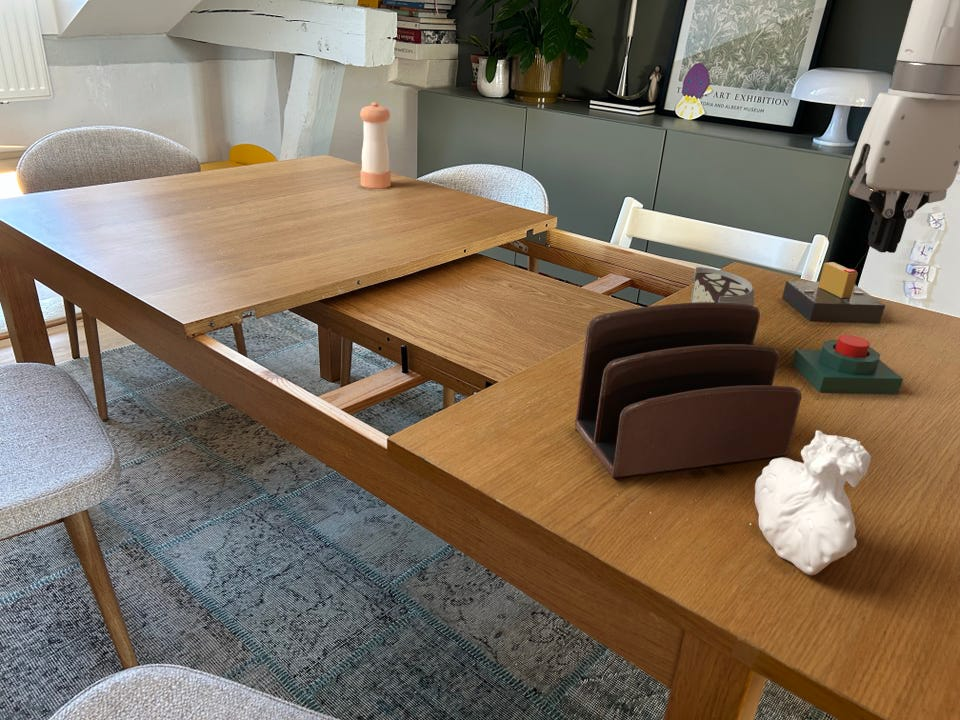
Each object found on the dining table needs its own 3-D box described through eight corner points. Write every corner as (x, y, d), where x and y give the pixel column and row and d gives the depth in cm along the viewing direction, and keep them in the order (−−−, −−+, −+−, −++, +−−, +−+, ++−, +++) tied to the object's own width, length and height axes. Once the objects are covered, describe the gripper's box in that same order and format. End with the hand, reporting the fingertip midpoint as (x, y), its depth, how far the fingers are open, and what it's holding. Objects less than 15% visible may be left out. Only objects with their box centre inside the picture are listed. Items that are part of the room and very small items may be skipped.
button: (856, 347, 93) (860, 334, 92) (871, 359, 90) (875, 346, 89) (829, 346, 93) (833, 334, 92) (843, 359, 90) (847, 346, 89)
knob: (817, 286, 116) (824, 261, 114) (827, 286, 116) (834, 260, 115) (841, 298, 111) (849, 271, 110) (851, 297, 112) (858, 271, 110)
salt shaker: (393, 188, 177) (393, 104, 168) (362, 188, 175) (361, 104, 166) (388, 181, 183) (387, 100, 175) (358, 181, 181) (357, 100, 173)
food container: (754, 374, 93) (771, 300, 89) (705, 372, 93) (721, 298, 89) (725, 335, 104) (740, 268, 100) (682, 333, 104) (695, 265, 100)
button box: (864, 365, 97) (872, 338, 95) (898, 394, 90) (908, 365, 88) (791, 364, 96) (798, 336, 95) (819, 392, 89) (827, 363, 87)
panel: (847, 299, 120) (852, 281, 119) (879, 323, 111) (885, 304, 110) (781, 298, 119) (786, 279, 118) (809, 321, 110) (814, 302, 109)
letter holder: (572, 428, 79) (587, 305, 73) (733, 410, 84) (759, 295, 78) (612, 481, 70) (632, 347, 64) (788, 458, 75) (822, 332, 69)
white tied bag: (830, 611, 59) (945, 520, 56) (772, 569, 56) (890, 470, 53) (763, 518, 70) (857, 436, 67) (712, 478, 67) (807, 392, 64)
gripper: (974, 82, 82) (923, 242, 90) (844, 75, 81) (804, 238, 89) (1022, 89, 75) (962, 261, 83) (881, 82, 74) (834, 257, 82)
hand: (881, 248), depth 86 cm, fingers closed
